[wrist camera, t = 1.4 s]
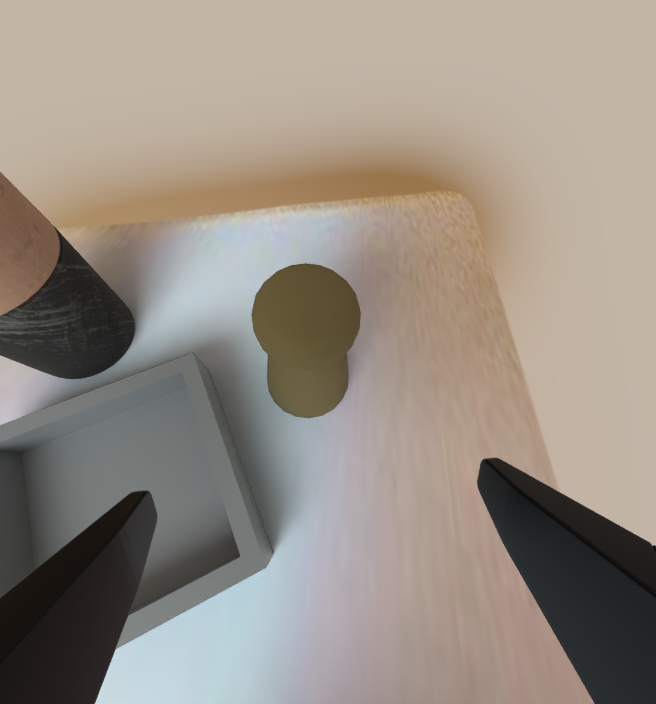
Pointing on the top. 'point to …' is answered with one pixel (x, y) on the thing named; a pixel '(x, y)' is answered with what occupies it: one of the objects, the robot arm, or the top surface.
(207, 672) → the top surface
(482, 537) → the top surface
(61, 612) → the robot arm
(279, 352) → the cork
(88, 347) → the travel mug
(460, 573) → the top surface
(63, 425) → the gray square tray
